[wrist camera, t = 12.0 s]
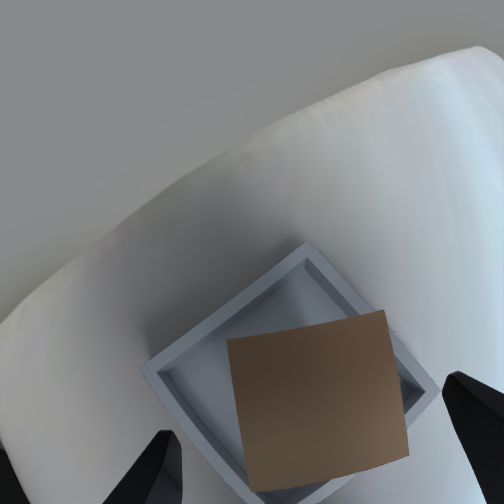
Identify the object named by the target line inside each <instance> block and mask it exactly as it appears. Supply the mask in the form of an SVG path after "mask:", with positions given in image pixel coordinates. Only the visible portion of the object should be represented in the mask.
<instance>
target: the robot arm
mask: <svg viewBox="0 0 504 504" xmlns="http://www.w3.org/2000/svg"><path fill="white" fill-rule="evenodd" d="M442 396H443V399H444V402H445V404H446V407H447V410H448V413H449V415H450V418H451V421H452V424H453V426H454V429H455V431H456V434H457V436H458V438H459V440H460V442H461V444H462V446H463V449H464V451H465V453H466V455H467V457H468V460H469V462H470V464H471V466H472V469H473V471H474V473H475V476H476V478H477V480H478V483H479V485H480V488H481V490H482V493H483V495H484V498H485V500H486V503H487V504H504V394H503V393H501V392H499V391H497V390H495V389H493V388H491V387H489V386H488V385H486V384H484V383H482V382H480V381H478V380H476V379H474V378H472V377H470V376H468V375H466V374H464V373H462V372H460V371H456V372H453V373H451V374H449V375H448V376H447V378H446V381H445V384H444V387H443V389H442ZM182 491H183V482H182V449H181V444H180V442H179V441H178V439H177V437H176V435H175V434H174V432H173V431H172V430H160V431H158V433H157V434H156V435H155V436H154V438H153V439H152V440H151V442H150V443H149V444H148V446H147V447H146V448H145V450H144V451H143V452H142V454H141V455H140V456H139V458H138V459H137V460H136V461H135V463H134V464H133V465H132V467H131V468H130V469H129V471H128V472H127V473H126V474H125V476H124V477H123V478H122V480H121V481H120V482H119V483H118V485H117V486H116V487H115V488H114V490H113V491H112V492H111V494H110V495H109V496H108V497H107V499H106V500H105V501H104V502H103V504H181V503H182Z"/></svg>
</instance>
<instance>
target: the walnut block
mask: <svg viewBox="0 0 504 504" xmlns="http://www.w3.org/2000/svg"><path fill="white" fill-rule="evenodd" d="M226 342H227V349H228V356H229V363H230V370H231V377H232V384H233V390H234V397H235V403H236V410H237V416H238V422H239V428H240V434H241V440H242V446H243V452H244V458H245V463H246V469H247V475H248V480H249V485H250V491H251V493H255V492H264V491H272V490H279V489H286V488H292V487H298V486H303V485H309V484H314V483H318V482H323V481H327V480H332V479H336V478H340V477H344V476H347V475H351V474H355V473H358V472H362V471H365V470H368V469H371V468H375V467H378V466H381V465H384V464H387V463H390V462H392V461H395V460H398V459H401V458H403V457H406V456H408V455H409V448H408V439H407V430H406V422H405V415H404V408H403V402H402V395H401V389H400V383H399V378H398V372H397V367H396V362H395V357H394V352H393V347H392V342H391V338H390V333H389V329H388V324H387V320H386V316H385V312H384V310H380V311H376V312H372V313H367V314H363V315H359V316H354V317H350V318H345V319H341V320H336V321H331V322H326V323H321V324H316V325H311V326H306V327H301V328H295V329H290V330H284V331H278V332H272V333H266V334H260V335H254V336H247V337H240V338H233V339H226Z"/></svg>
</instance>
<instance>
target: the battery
mask: <svg viewBox="0 0 504 504" xmlns="http://www.w3.org/2000/svg"><path fill="white" fill-rule="evenodd" d="M0 504H29V503H28V501H27V499H26V497H25V495H24V494H23V492H22V490H21V488H20V485H19V483H18V481H17V479H16V477H15V475H14V473H13V470H12V468H11V466H10V464H9V461H8V459H7V456H6V454H5V452H4V450H2V449H0Z"/></svg>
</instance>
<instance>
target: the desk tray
mask: <svg viewBox="0 0 504 504" xmlns="http://www.w3.org/2000/svg"><path fill="white" fill-rule="evenodd" d="M372 312H374V311H373V310H372V308H371V307H370V306H369V305H368V304H367V303H366V302H365V301H364V300H363V298H362V297H361V296H360V295H359V294H358V293H357V292H356V291H355V290H354V289H353V287H352V286H351V285H350V284H349V283H348V282H347V281H346V280H345V279H344V278H343V277H342V275H341V274H340V273H339V272H338V271H337V270H336V269H335V268H334V267H333V266H332V265H331V264H330V263H329V261H328V260H327V259H326V258H325V257H324V256H323V255H322V254H321V253H320V252H319V251H318V250H317V249H316V248H315V247H314V246H313V245H312V244H311V242H310V241H309V240H307V241H306V242H304V243H303V244H302V245H301V246H299V247H298V248H297V249H296V250H294V251H293V252H292V253H290V254H289V255H288V256H287V257H285V258H284V259H283V260H282V261H280V262H279V263H278V264H276V265H275V266H274V267H273V268H271V269H270V270H269V271H267V272H266V273H265V274H264V275H262V276H261V277H260V278H258V279H257V280H256V281H254V282H253V283H252V284H251V285H249V286H248V287H247V288H245V289H244V290H243V291H241V292H240V293H239V294H237V295H236V296H235V297H234V298H232V299H231V300H230V301H228V302H227V303H226V304H224V305H223V306H222V307H220V308H219V309H218V310H216V311H215V312H214V313H212V314H211V315H210V316H208V317H207V318H206V319H204V320H203V321H202V322H200V323H199V324H198V325H196V326H195V327H194V328H192V329H191V330H190V331H188V332H187V333H186V334H184V335H183V336H182V337H180V338H179V339H178V340H176V341H175V342H173V343H172V344H171V345H169V346H168V347H167V348H165V349H164V350H163V351H161V352H160V353H158V354H157V355H156V356H154V357H153V358H152V359H150V360H149V361H147V362H146V363H145V364H143V365H142V366H141V367H139V370H140V371H141V373H142V374H143V376H144V377H145V379H146V380H147V382H148V383H149V385H150V386H151V388H152V389H153V391H154V392H155V394H156V395H157V397H158V398H159V400H160V401H161V402H162V404H163V405H164V407H165V408H166V409H167V411H168V412H169V414H170V415H171V416H172V418H173V419H174V420H175V422H176V423H177V424H178V426H179V427H180V428H181V430H182V431H183V432H184V433H185V435H186V436H187V437H188V439H189V440H190V441H191V442H192V444H193V445H194V446H195V447H196V448H197V450H198V451H199V452H200V453H201V455H202V456H203V457H204V458H205V459H206V460H207V462H208V463H209V464H210V465H211V466H212V467H213V469H214V470H215V471H216V472H217V473H218V474H219V475H220V476H221V477H222V479H223V480H224V481H225V482H226V483H227V484H228V485H229V486H230V487H231V488H232V489H233V490H234V491H235V492H236V494H237V495H238V496H239V497H240V498H241V499H242V500H243V501H244V502H245V503H246V504H318V503H319V502H321V501H322V500H324V499H325V498H326V497H328V496H329V495H331V494H332V493H333V492H335V491H336V490H337V489H339V488H340V487H341V486H343V485H344V484H345V483H347V482H348V481H349V480H350V479H352V478H353V477H354V476H355V475H357V474H358V473H359V472H358V473H355V474H351V475H347V476H344V477H340V478H336V479H332V480H327V481H323V482H318V483H314V484H309V485H303V486H298V487H292V488H286V489H279V490H272V491H264V492H255V493H251V491H250V485H249V480H248V475H247V469H246V463H245V458H244V452H243V446H242V440H241V434H240V428H239V422H238V416H237V410H236V403H235V397H234V390H233V384H232V377H231V370H230V363H229V356H228V349H227V342H226V339H233V338H240V337H247V336H254V335H260V334H266V333H272V332H278V331H284V330H290V329H295V328H301V327H306V326H311V325H316V324H321V323H326V322H331V321H336V320H341V319H345V318H350V317H354V316H359V315H363V314H367V313H372ZM388 329H389V328H388ZM389 333H390V338H391V342H392V347H393V352H394V357H395V362H396V367H397V372H398V378H399V383H400V389H401V395H402V402H403V408H404V415H405V422H406V429H407V428H408V427H409V426H410V425H411V424H412V423H413V422H414V421H415V420H416V419H417V417H418V416H419V415H420V414H421V413H422V412H423V411H424V410H425V409H426V408H427V406H428V405H429V404H430V403H431V402H432V401H433V400H434V398H435V397H436V396H437V395H438V394H439V392H440V391H441V390H440V389H439V387H438V386H437V385H436V384H435V382H434V381H433V380H432V379H431V377H430V376H429V375H428V374H427V373H426V371H425V370H424V369H423V368H422V367H421V365H420V364H419V363H418V362H417V361H416V359H415V358H414V357H413V356H412V355H411V353H410V352H409V351H408V350H407V349H406V348H405V346H404V345H403V344H402V343H401V342H400V340H399V339H398V338H397V337H396V336H395V335H394V334H393V332H392V331H391V330H390V329H389Z"/></svg>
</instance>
